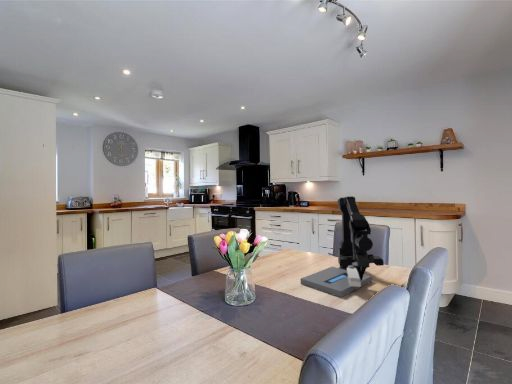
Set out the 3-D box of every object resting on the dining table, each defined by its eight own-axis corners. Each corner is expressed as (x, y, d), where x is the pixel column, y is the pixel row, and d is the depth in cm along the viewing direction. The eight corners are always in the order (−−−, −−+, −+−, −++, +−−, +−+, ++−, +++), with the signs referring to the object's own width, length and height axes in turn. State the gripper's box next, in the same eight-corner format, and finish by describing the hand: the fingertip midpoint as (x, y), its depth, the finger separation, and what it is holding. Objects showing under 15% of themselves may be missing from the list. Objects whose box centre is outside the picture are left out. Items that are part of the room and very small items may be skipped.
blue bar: (327, 280, 127) (332, 282, 125) (342, 274, 135) (346, 276, 133) (327, 286, 127) (332, 287, 125) (342, 279, 135) (346, 280, 133)
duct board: (300, 283, 130) (300, 278, 130) (332, 271, 147) (332, 266, 147) (341, 297, 113) (341, 291, 113) (371, 281, 130) (371, 276, 130)
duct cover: (346, 270, 139) (346, 265, 139) (355, 270, 138) (355, 265, 138) (350, 286, 118) (349, 280, 118) (360, 286, 117) (360, 280, 117)
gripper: (340, 250, 117) (342, 286, 117) (386, 249, 114) (388, 286, 114) (337, 244, 128) (339, 277, 128) (379, 243, 125) (380, 277, 125)
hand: (361, 279), depth 124 cm, fingers closed
